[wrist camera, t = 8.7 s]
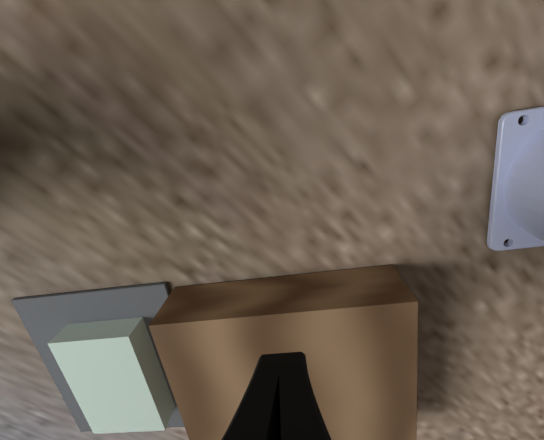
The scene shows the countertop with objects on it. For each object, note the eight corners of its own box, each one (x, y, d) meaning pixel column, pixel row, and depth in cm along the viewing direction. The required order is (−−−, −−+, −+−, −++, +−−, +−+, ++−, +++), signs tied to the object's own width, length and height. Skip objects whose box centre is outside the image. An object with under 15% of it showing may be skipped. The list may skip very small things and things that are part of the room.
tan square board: (392, 264, 19) (418, 301, 15) (395, 408, 23) (416, 465, 19) (174, 287, 21) (148, 325, 17) (214, 417, 25) (201, 471, 21)
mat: (165, 281, 20) (164, 284, 20) (210, 421, 25) (209, 425, 25) (14, 298, 22) (11, 300, 21) (83, 428, 26) (80, 431, 26)
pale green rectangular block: (47, 343, 20) (68, 323, 22) (93, 433, 23) (108, 409, 25) (128, 336, 19) (142, 316, 21) (165, 430, 22) (175, 405, 24)
